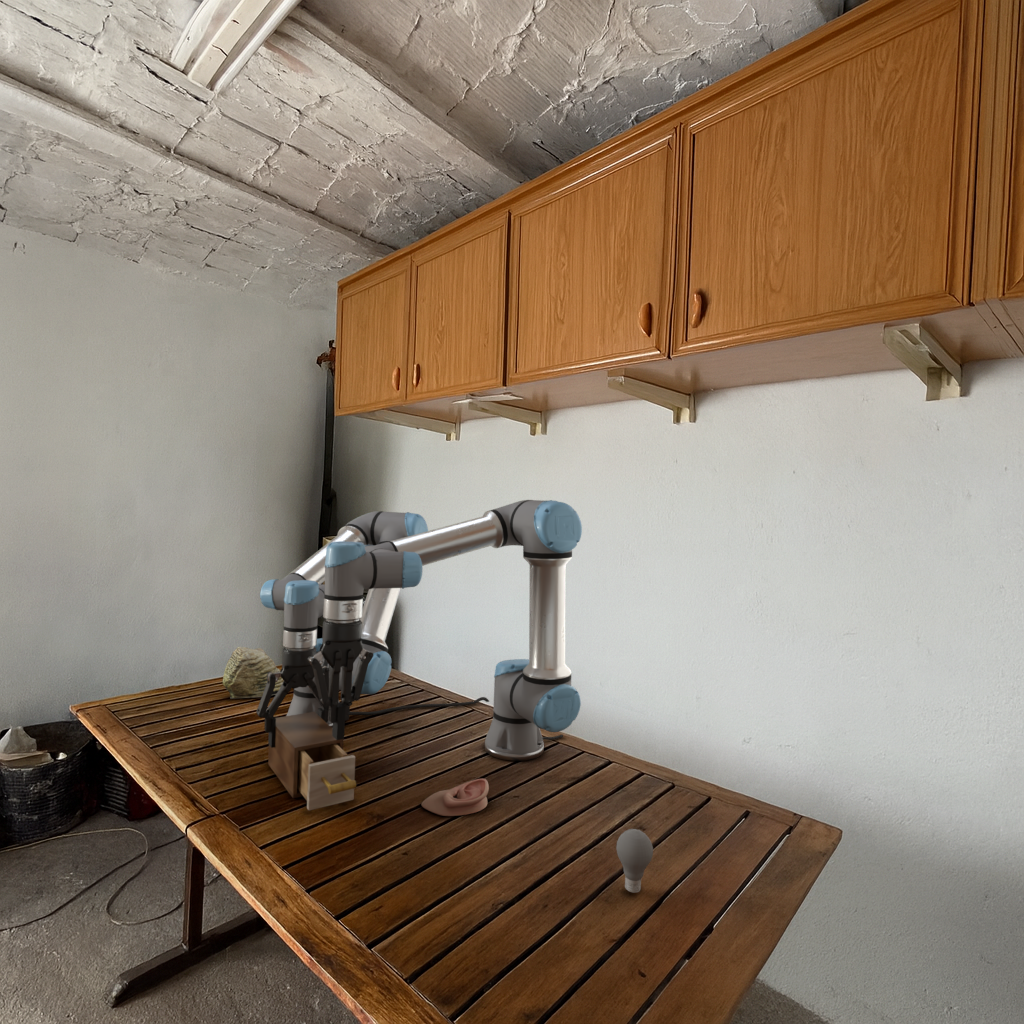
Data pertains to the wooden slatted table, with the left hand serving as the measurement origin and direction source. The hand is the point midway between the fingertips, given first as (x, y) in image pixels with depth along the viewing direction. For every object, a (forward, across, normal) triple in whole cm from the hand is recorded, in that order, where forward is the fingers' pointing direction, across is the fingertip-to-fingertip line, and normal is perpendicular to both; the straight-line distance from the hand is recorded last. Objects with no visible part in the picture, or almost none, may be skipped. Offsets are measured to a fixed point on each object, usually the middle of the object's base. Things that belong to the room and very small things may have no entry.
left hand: (296, 741), depth 148 cm
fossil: (+6, +4, +58) cm, 58 cm away
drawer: (+5, 0, -18) cm, 19 cm away
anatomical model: (+6, +23, -35) cm, 42 cm away
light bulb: (+6, +33, -76) cm, 83 cm away
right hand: (-10, 0, -27) cm, 29 cm away
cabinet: (+6, 0, -6) cm, 8 cm away
